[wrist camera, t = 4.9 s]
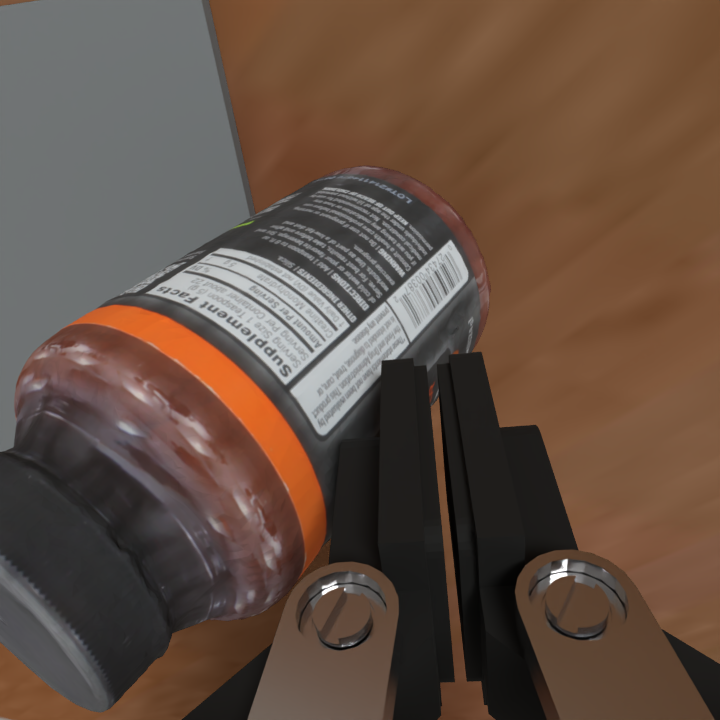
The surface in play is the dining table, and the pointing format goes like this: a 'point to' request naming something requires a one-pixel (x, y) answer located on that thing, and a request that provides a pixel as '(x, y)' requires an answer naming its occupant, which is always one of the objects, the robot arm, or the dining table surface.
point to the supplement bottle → (217, 422)
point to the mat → (105, 159)
